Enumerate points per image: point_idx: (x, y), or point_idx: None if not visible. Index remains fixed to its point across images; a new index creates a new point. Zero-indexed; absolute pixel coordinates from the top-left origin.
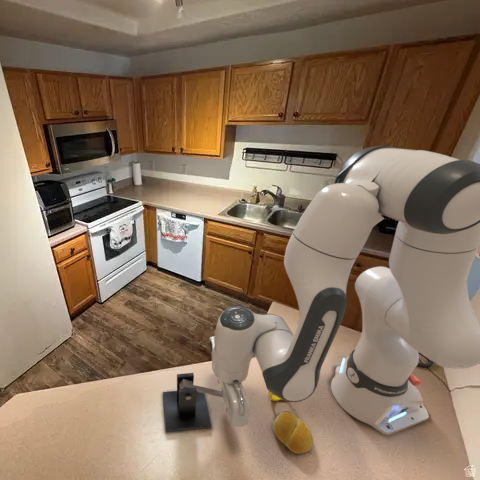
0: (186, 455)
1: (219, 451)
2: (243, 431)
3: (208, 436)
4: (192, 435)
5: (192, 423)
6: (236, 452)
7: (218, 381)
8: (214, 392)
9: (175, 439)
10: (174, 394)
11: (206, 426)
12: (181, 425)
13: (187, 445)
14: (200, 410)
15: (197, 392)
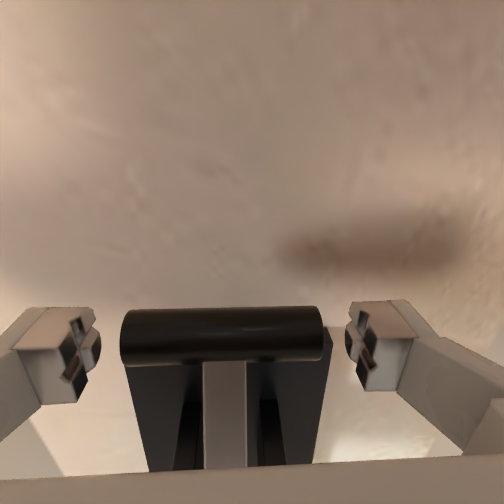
0: (395, 415)
1: (428, 311)
2: (388, 163)
3: None
4: (336, 394)
5: (305, 411)
6: (465, 238)
7: (86, 377)
8: None
9: (334, 440)
10: (164, 459)
11: (329, 361)
12: (303, 443)
13: (365, 411)
14: (250, 377)
15: (148, 378)
